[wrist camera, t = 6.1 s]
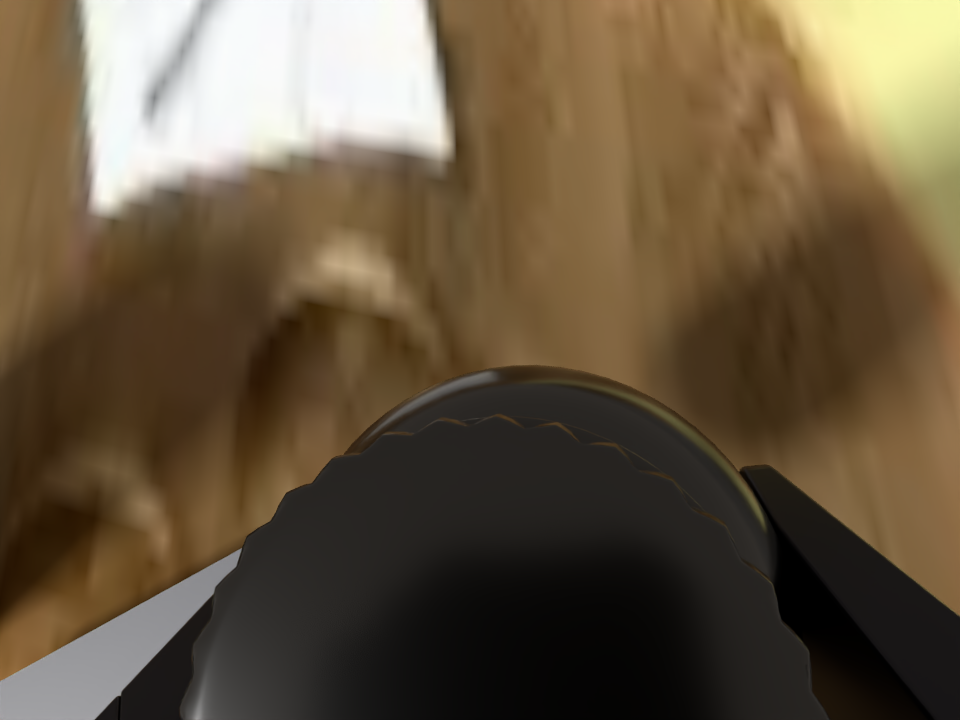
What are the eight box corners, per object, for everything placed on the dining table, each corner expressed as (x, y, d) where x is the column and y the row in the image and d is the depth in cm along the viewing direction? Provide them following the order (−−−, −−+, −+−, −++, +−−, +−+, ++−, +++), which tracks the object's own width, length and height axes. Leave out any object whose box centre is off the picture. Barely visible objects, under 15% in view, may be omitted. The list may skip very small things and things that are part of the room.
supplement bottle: (663, 399, 16) (926, 227, 4) (702, 668, 15) (1240, 1517, 3) (418, 423, 17) (66, 340, 5) (436, 679, 15) (23, 1355, 4)
